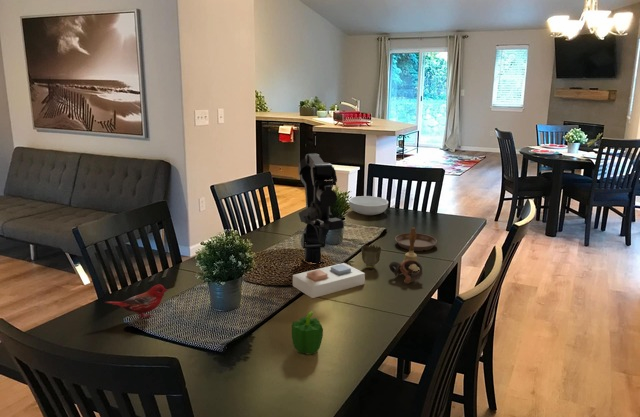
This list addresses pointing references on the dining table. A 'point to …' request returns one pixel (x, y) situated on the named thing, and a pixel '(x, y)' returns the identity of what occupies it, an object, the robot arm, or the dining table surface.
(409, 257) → the hand bell
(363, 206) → the serving bowl
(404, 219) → the dining table surface
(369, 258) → the cup
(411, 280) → the pottery mug
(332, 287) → the key panel
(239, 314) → the dining table surface
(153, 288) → the decorative bird figurine
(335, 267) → the blue key
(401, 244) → the plant saucer
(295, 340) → the bell pepper
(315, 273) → the terracotta key
